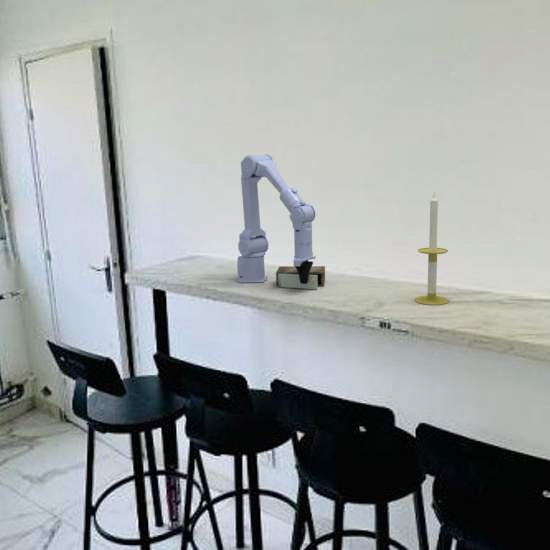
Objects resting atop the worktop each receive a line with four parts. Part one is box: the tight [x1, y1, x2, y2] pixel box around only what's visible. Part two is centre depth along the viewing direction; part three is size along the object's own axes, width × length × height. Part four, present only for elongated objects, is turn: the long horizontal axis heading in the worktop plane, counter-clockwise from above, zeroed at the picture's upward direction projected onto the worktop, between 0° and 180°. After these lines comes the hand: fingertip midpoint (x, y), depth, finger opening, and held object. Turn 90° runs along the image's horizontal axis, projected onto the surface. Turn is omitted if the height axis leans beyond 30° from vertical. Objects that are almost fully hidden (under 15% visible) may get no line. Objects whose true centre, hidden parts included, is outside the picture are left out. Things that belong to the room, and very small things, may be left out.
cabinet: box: [275, 265, 326, 288], centre depth 207 cm, size 16×10×5 cm, turn 83°
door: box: [278, 274, 319, 290], centre depth 199 cm, size 13×2×4 cm, turn 71°
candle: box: [414, 191, 450, 306], centre depth 176 cm, size 10×10×32 cm
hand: (304, 283), depth 198 cm, fingers closed
